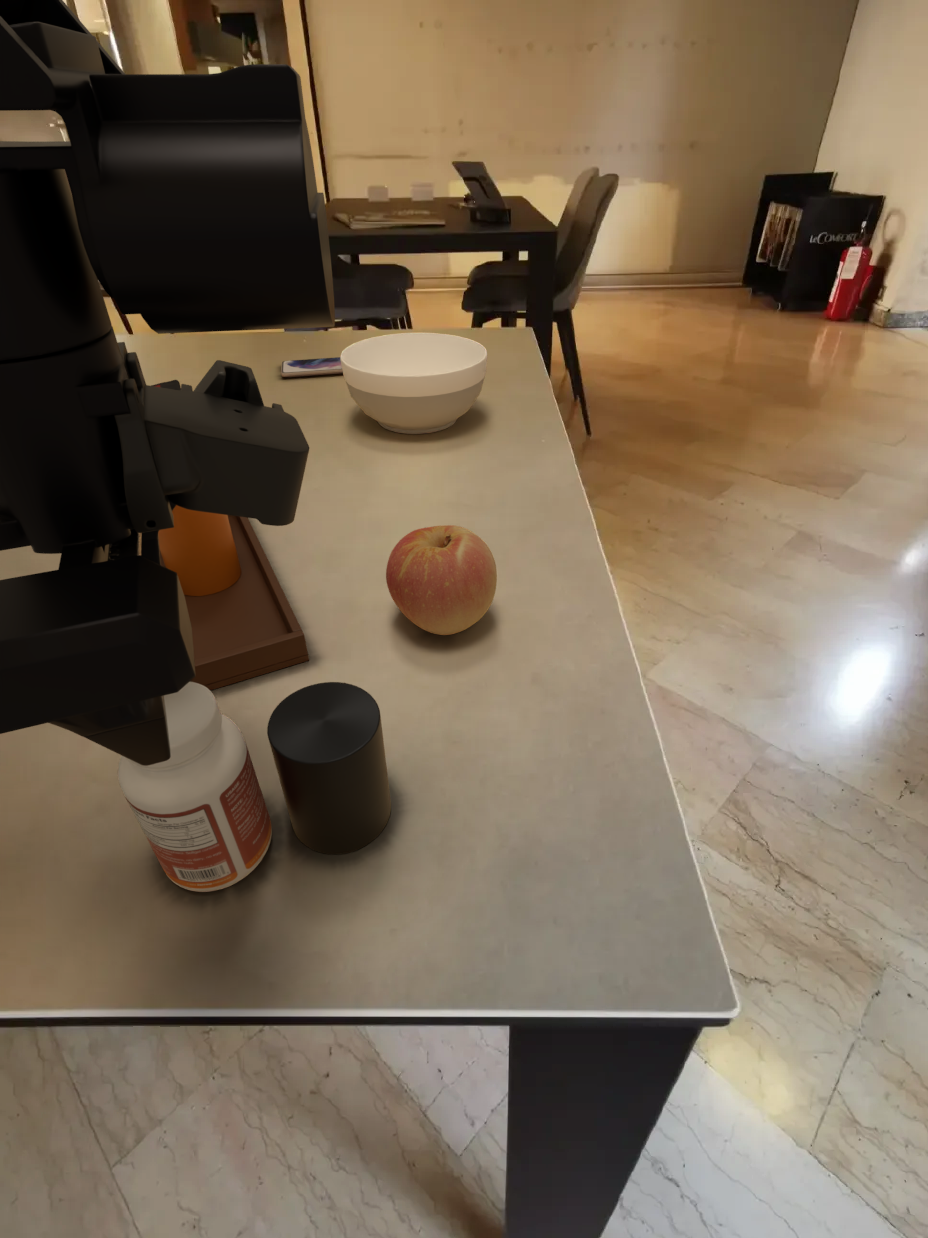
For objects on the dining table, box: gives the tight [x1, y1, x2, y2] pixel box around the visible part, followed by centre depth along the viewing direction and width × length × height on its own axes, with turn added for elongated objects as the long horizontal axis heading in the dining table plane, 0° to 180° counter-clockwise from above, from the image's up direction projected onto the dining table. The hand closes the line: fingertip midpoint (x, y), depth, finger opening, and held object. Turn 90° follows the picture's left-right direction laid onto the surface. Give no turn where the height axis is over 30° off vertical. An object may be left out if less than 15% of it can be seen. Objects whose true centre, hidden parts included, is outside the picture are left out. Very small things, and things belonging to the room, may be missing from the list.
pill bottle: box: [117, 682, 273, 893], centre depth 35 cm, size 6×6×11 cm
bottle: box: [158, 505, 241, 596], centre depth 56 cm, size 6×6×11 cm
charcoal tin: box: [266, 681, 392, 855], centre depth 38 cm, size 6×6×8 cm
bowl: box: [339, 332, 488, 435], centre depth 88 cm, size 19×19×9 cm
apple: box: [385, 524, 498, 636], centre depth 53 cm, size 9×9×8 cm
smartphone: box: [280, 356, 343, 378], centre depth 107 cm, size 7×1×15 cm
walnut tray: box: [160, 515, 310, 691], centre depth 58 cm, size 26×10×3 cm, turn 26°
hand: (156, 688), depth 31 cm, fingers open, 9 cm apart
